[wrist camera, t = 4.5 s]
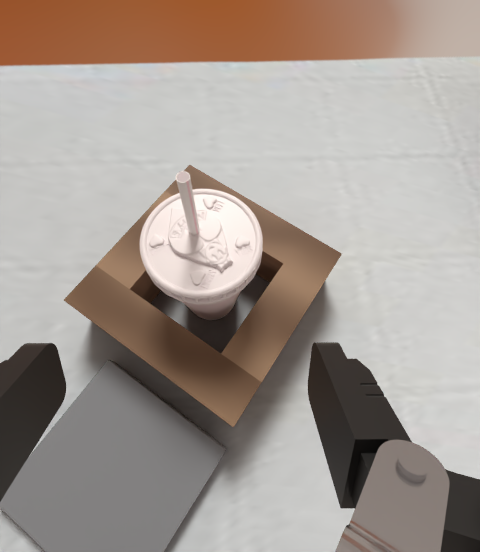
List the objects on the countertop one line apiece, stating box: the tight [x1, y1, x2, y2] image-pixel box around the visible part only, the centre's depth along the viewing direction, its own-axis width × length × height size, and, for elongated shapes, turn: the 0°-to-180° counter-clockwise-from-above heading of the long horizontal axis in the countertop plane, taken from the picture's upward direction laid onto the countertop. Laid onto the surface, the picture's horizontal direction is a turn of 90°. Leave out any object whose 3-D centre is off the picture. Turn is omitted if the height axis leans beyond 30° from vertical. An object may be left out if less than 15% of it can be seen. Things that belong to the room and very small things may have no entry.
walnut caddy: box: [64, 165, 341, 427], centre depth 24 cm, size 13×13×4 cm
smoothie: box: [140, 171, 263, 320], centre depth 19 cm, size 6×6×14 cm
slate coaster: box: [0, 360, 226, 552], centre depth 21 cm, size 10×10×1 cm
